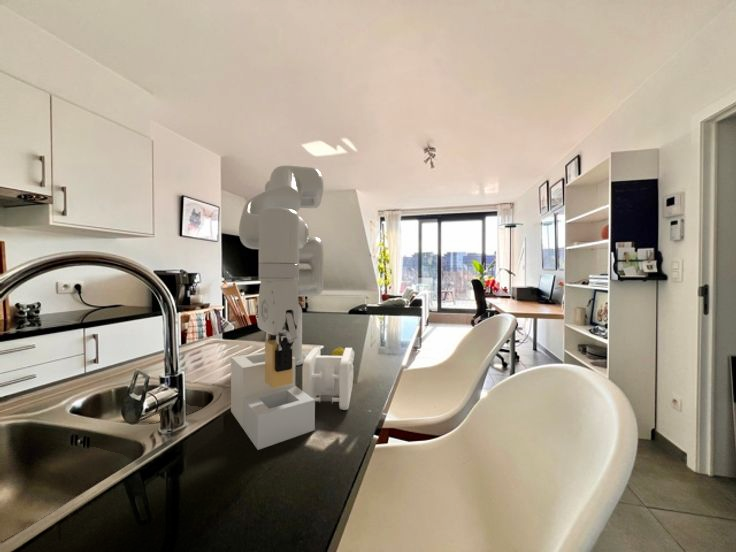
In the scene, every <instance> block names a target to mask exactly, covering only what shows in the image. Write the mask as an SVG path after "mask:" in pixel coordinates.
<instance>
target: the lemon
mask: <svg viewBox="0 0 736 552" xmlns="http://www.w3.org/2000/svg"><path fill="white" fill-rule="evenodd" d="M344 350H345V348H342V347H341V346H338V347H337V348H335V349H334V350H332V352H331V354H330V356H343V353H344Z"/></svg>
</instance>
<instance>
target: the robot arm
mask: <svg viewBox="0 0 736 552" xmlns="http://www.w3.org/2000/svg"><path fill="white" fill-rule="evenodd" d="M324 187H325V186H324V179H323V175H322V173H321V172H320V170H318V169H317V168H315V167H312V166H311V167H310V166H309V167H308V166H297V165H280V166H277V167H275V168H274V169H273V170H272V172H271V174H270V178H269V180H268V181H266V183H265V185H264V191H262V192H261V193H259V194H256V195H254V196H252V197H251V198H249V200H247V202H246V203H245V204H244V206H243V210H242V212H241V215H240V220H239V225H238V235H239V239H240V242H241V244H242V245H243V246H244V247H245V248H248V249H251V250H258V281H259V282H260V284H259V291H258V304H257V306H258V307H257V327H258V328H259V330H261V331H263V332H264V333H265V341H269V340H276V343H277V350H275V371H276V372H280V371H285V370H290V369H292V349H293V357H294V358H295V367H296V366H300V365H303V362H304V360H305V358H306V357H307V355H304V354H303V310H302V309H303V308H302V306H301V305H300V303H299V302H300V301H299V297H318V296H320V295H321V294H323V291H324V247H323V246H324V245H323V241H322V240H321V239H320V238H319V237H317V236H312V235H311V236H310V235H309V234H310V233H309V232H310V231H309V226H308V224H307V223H306V221H305V220H304V219H303V218H302V217H301V216H300V215H299V214H298V211H299V210H300V209H317V208H318V207H320V205H321V203H322V199H323V193H324ZM300 265H308V266H309V268H306V267H305V268H304V267H303V268H300ZM281 339H283V340H282V341H281Z"/></svg>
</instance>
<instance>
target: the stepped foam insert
mask: <svg viewBox="0 0 736 552" xmlns="http://www.w3.org/2000/svg"><path fill="white" fill-rule="evenodd" d="M230 412H231V414H232V415H233V416H234V418H235V420H236V421H237V422H238V423H239V425H240V426H241V428H242V429H243V430H244V432H245V434H246V435H247V437H248V438H249V439H250V441H251V442H252V443H253V445H254V447H255V448H256V449H257V451H259V450H262V449H264V448H267V447H270V446H271V447H272V446H274V445H276V444H279V443H282V442H284V441H287V440H291V439H294V438H296V437H300V436H302V435H305V434H308V433H311V432H313V431H315V429H316V426H315V421H316V418H315V416H316V415H315V414H316V413H315V412H316V401H315V400H314V399H313V398H312V397H310V396H309V395H308V394H306V393H305V392H303V391H302V389H300V388H299V387H298V386H296V366H295V358H294V357H293V383H291V384H287V385H283V386H278V387H274V388H272V387H271V386H269V385H268V384H267V383H266V382H265V351H262V352H256V353H248V354H244V355H243V354H242V355H238V356H236V355H235V356H231V357H230Z"/></svg>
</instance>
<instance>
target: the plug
mask: <svg viewBox="0 0 736 552" xmlns="http://www.w3.org/2000/svg"><path fill="white" fill-rule="evenodd" d="M282 340H283V339H281V341H282ZM275 350H277V343H276V340H269V341H266V340H265V341H264V352H265V382H266V383H267V384H268V385H269V386H271V387H272V388H274V387H278V386H283V385H287V384H291V383H293V349H292V369H290V370H285V371H280V372H276V371H275Z"/></svg>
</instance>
